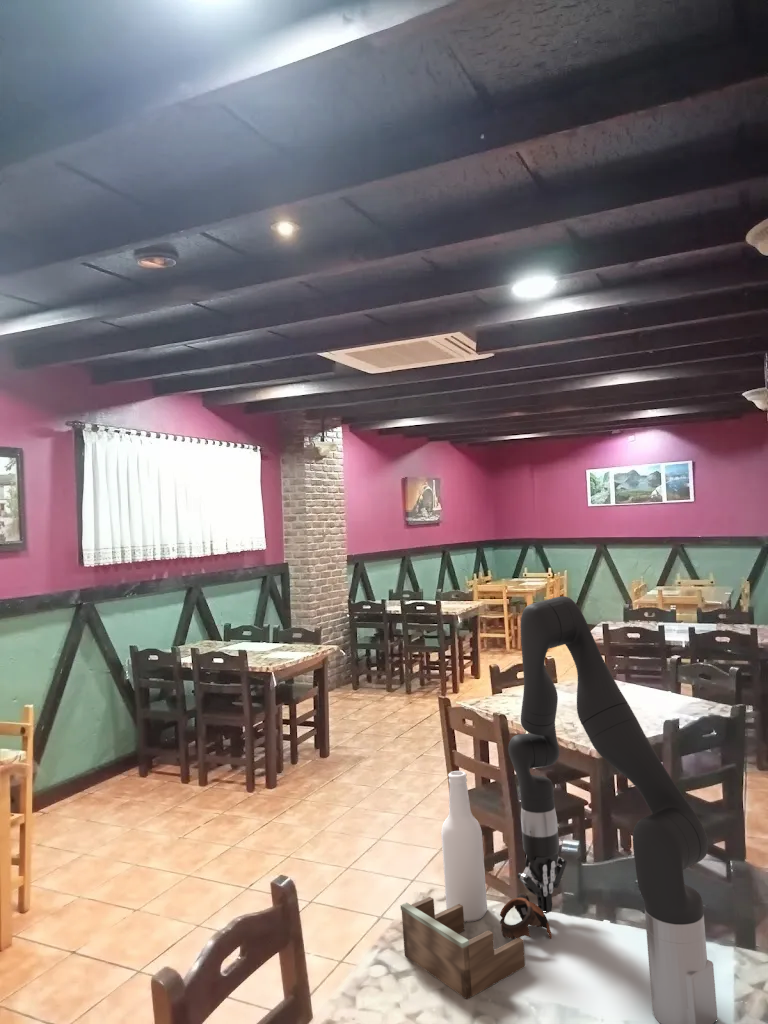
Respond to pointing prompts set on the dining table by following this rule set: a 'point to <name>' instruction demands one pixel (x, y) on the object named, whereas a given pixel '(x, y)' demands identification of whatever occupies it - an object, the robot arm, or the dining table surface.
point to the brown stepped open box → (456, 949)
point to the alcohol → (463, 853)
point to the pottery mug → (523, 918)
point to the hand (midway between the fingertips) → (545, 911)
